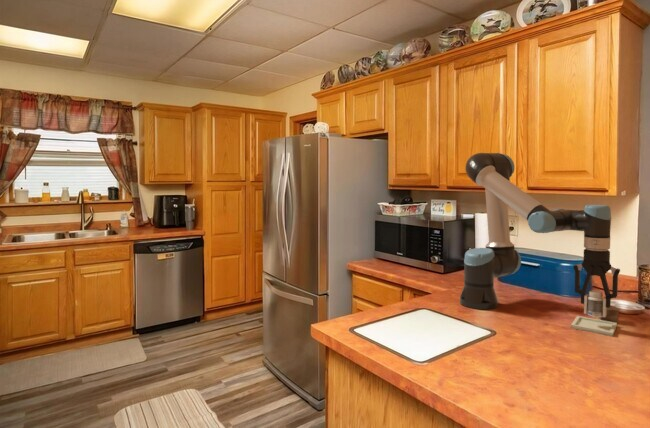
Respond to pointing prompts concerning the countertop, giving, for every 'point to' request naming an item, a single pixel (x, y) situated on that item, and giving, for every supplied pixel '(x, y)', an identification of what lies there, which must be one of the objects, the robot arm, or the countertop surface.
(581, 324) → the tray
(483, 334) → the countertop surface
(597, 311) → the pill bottle
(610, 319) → the walnut cube
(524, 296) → the countertop surface
